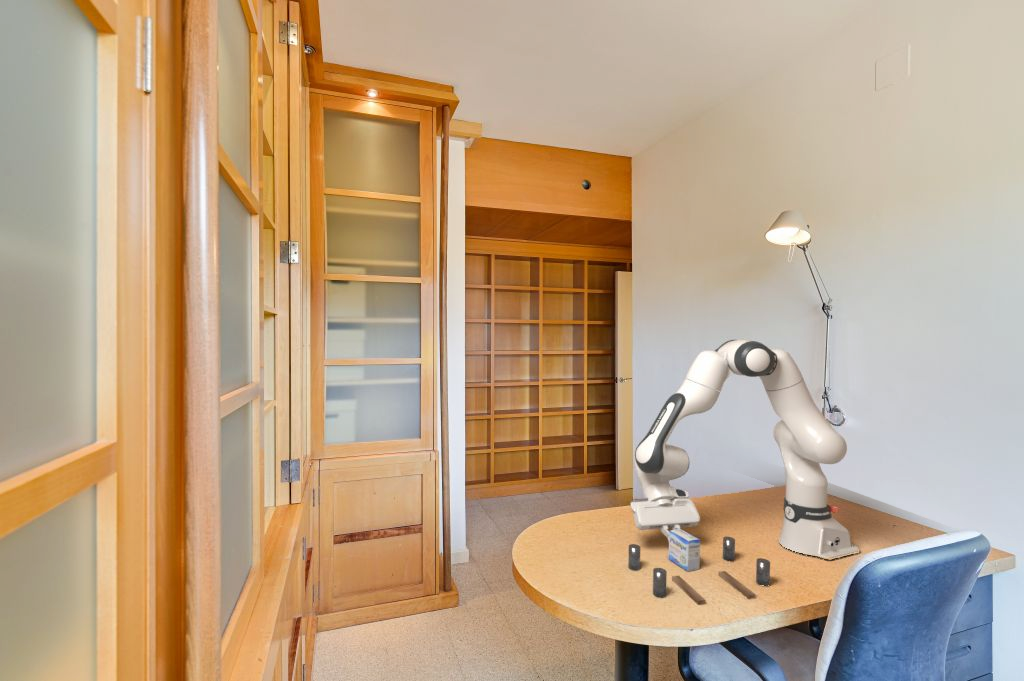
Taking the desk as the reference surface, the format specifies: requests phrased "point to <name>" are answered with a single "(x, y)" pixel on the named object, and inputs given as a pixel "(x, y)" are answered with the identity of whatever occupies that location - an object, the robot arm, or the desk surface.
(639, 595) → the desk surface
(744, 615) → the desk surface
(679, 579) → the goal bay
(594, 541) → the desk surface
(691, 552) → the medicine box
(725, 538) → the spacer posts
